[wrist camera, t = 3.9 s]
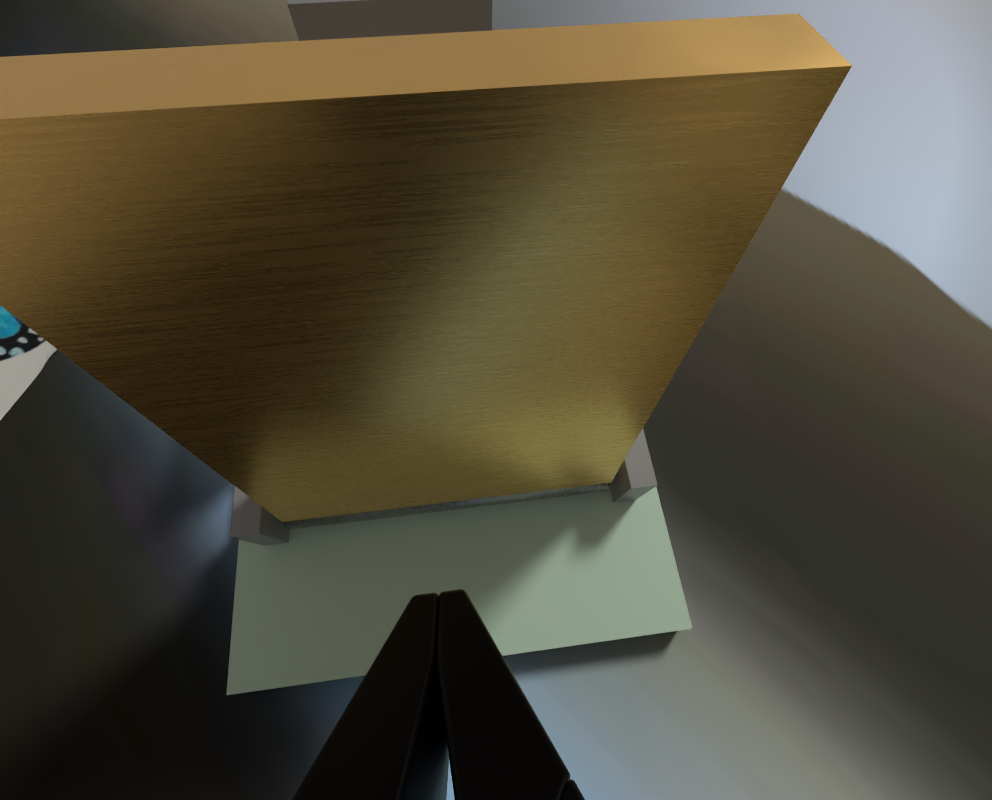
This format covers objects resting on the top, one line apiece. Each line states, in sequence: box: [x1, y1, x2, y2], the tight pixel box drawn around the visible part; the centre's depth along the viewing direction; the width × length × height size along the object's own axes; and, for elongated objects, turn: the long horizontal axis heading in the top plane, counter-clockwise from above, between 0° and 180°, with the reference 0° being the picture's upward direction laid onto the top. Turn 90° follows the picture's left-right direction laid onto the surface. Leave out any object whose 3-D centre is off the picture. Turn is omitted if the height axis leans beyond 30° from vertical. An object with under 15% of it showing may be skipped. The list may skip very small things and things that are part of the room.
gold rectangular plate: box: [0, 14, 852, 530], centre depth 10 cm, size 1×10×13 cm, turn 97°
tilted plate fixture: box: [226, 0, 692, 695], centre depth 14 cm, size 20×14×10 cm
